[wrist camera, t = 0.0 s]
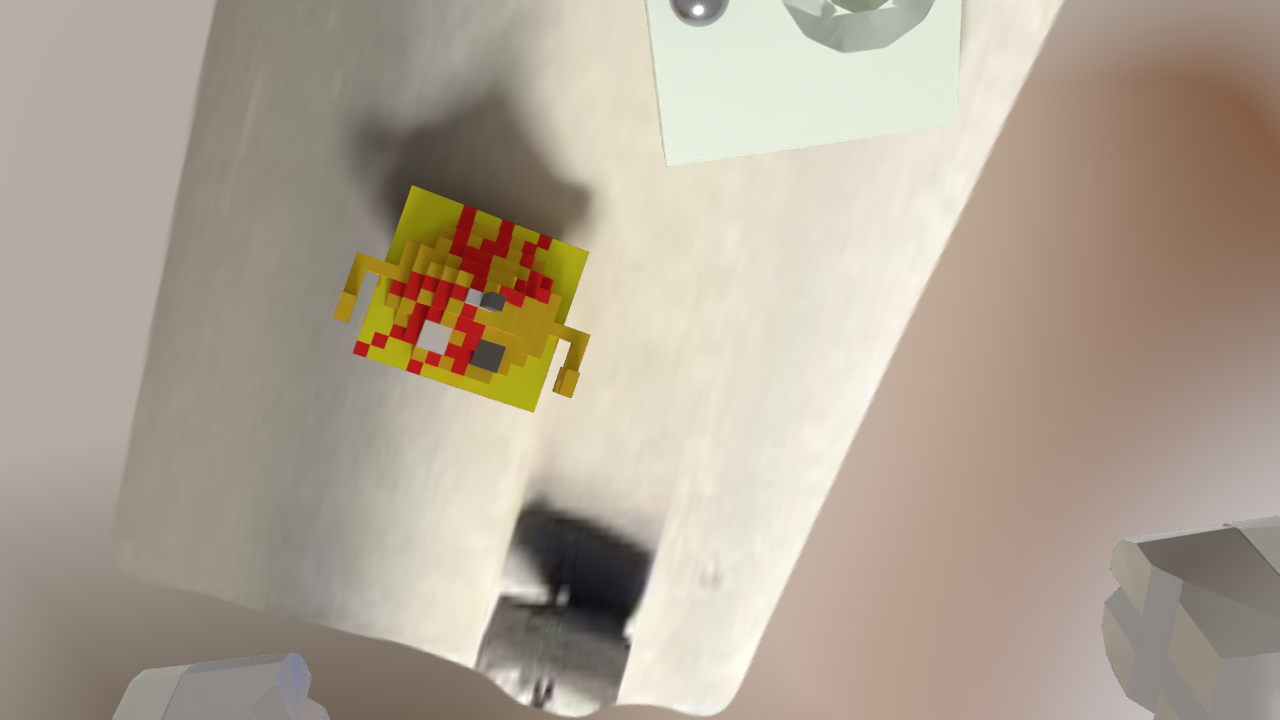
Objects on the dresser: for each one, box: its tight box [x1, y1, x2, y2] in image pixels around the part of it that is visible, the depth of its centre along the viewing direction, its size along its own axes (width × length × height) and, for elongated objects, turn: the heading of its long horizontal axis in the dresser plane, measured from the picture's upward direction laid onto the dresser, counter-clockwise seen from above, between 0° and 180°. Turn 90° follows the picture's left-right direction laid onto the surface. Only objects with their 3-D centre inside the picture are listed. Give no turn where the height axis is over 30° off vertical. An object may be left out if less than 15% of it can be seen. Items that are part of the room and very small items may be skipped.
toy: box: [333, 185, 590, 413], centre depth 55 cm, size 14×10×15 cm
